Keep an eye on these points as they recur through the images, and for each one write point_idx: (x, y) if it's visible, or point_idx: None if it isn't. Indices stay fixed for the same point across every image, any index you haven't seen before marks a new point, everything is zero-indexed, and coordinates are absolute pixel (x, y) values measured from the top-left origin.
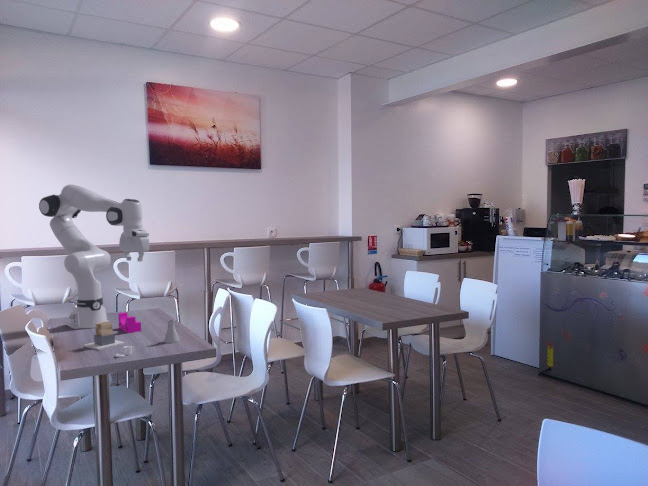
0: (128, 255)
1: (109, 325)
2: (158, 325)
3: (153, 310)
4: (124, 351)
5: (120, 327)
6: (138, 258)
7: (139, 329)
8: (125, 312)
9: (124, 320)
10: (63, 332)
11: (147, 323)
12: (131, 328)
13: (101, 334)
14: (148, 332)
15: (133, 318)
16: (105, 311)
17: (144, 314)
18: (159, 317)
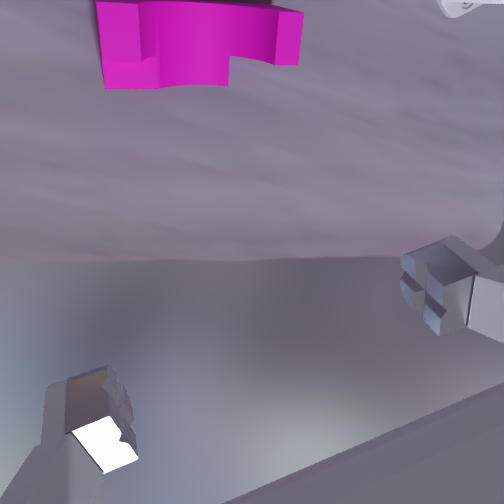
0: (499, 318)
1: None
2: (178, 186)
3: None
4: None
5: (243, 3)
6: (66, 421)
7: (102, 69)
8: (295, 61)
9: (243, 31)
10: None
11: (257, 157)
12: (97, 21)
13: None
14: (41, 98)
15: (101, 47)
16: (484, 1)
17: (431, 196)
18: (331, 230)
